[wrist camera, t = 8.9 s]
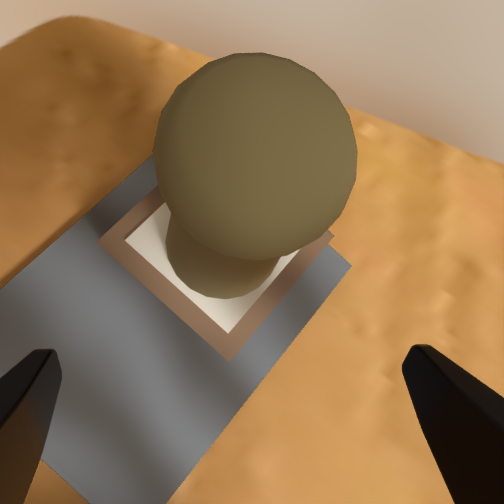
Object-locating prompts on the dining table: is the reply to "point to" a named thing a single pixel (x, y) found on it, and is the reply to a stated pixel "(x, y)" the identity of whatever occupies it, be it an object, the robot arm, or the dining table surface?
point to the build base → (148, 344)
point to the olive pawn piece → (250, 169)
